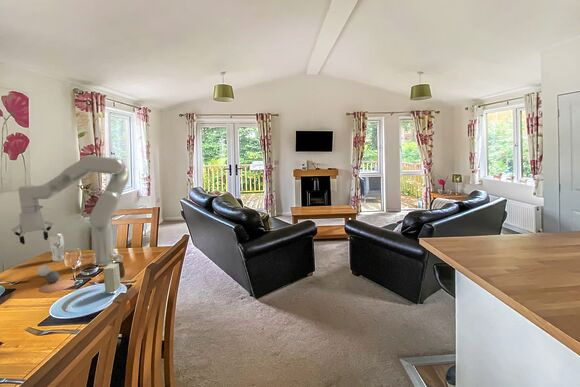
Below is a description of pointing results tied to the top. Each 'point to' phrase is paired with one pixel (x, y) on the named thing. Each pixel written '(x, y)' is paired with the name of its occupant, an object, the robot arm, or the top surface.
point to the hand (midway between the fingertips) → (34, 241)
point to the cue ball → (43, 270)
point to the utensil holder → (121, 267)
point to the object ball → (52, 277)
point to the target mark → (57, 286)
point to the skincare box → (111, 277)
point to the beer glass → (57, 246)
